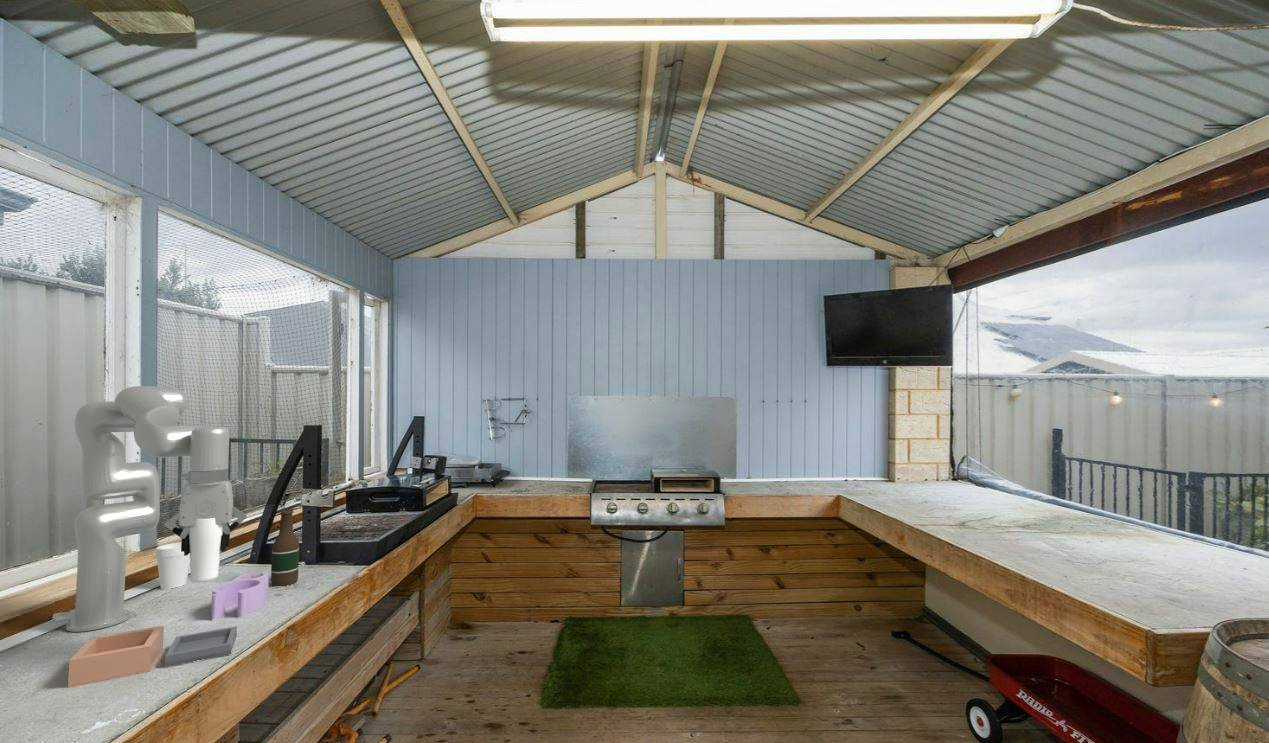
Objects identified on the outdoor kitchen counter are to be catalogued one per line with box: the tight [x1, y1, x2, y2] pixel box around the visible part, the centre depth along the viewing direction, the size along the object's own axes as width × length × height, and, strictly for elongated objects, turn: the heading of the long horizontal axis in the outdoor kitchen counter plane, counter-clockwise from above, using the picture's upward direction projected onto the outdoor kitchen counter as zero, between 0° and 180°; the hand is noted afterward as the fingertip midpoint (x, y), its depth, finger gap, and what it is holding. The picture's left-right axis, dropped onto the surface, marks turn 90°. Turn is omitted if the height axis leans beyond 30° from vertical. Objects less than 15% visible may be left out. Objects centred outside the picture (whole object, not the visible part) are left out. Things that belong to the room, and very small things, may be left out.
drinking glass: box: [189, 518, 224, 583], centre depth 132 cm, size 7×7×15 cm
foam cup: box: [155, 541, 191, 590], centre depth 178 cm, size 10×9×13 cm
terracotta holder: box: [67, 625, 165, 688], centre depth 123 cm, size 13×13×6 cm
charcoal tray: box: [164, 626, 238, 668], centre depth 131 cm, size 12×12×2 cm
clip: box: [210, 571, 270, 620], centre depth 160 cm, size 20×12×7 cm, turn 15°
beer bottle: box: [270, 508, 300, 587], centre depth 181 cm, size 8×8×24 cm
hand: (205, 551), depth 132 cm, fingers closed on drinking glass, 6 cm apart
